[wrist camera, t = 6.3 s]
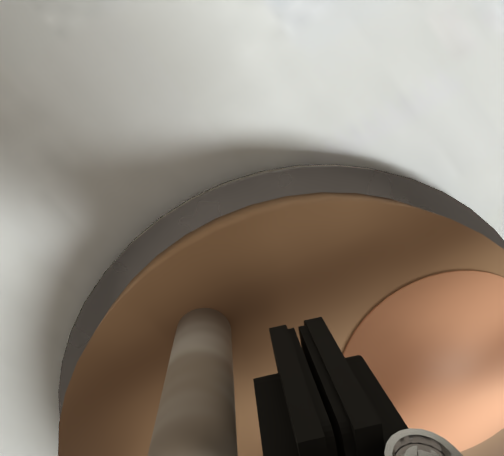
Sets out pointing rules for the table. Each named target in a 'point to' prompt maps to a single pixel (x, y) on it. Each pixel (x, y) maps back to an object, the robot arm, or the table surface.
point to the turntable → (295, 327)
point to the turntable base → (240, 196)
